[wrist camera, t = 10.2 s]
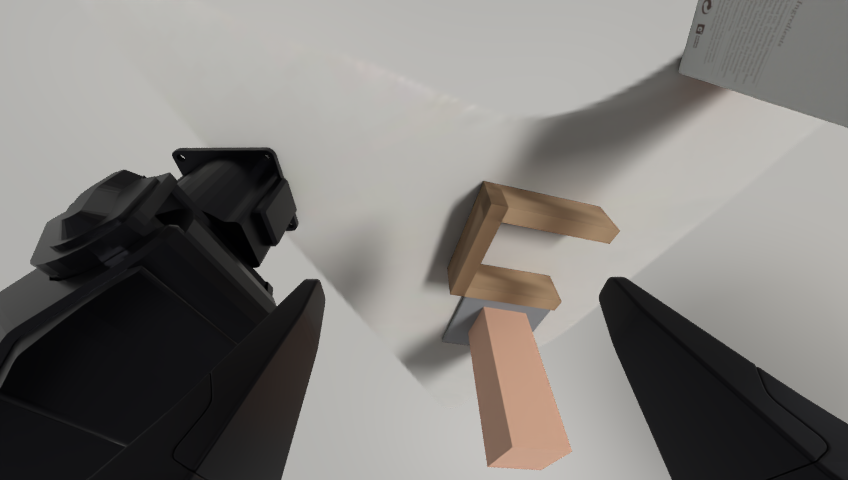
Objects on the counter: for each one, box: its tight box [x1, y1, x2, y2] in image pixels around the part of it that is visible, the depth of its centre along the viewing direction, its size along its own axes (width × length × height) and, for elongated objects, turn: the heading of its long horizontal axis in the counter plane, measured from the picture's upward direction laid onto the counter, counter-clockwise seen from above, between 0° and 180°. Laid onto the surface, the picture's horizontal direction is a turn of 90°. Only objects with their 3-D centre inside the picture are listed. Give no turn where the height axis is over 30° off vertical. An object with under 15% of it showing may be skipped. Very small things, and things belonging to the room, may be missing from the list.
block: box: [468, 307, 572, 470], centre depth 27 cm, size 5×5×12 cm
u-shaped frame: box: [447, 181, 620, 310], centre depth 24 cm, size 10×9×3 cm
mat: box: [443, 297, 550, 345], centre depth 32 cm, size 9×9×1 cm
